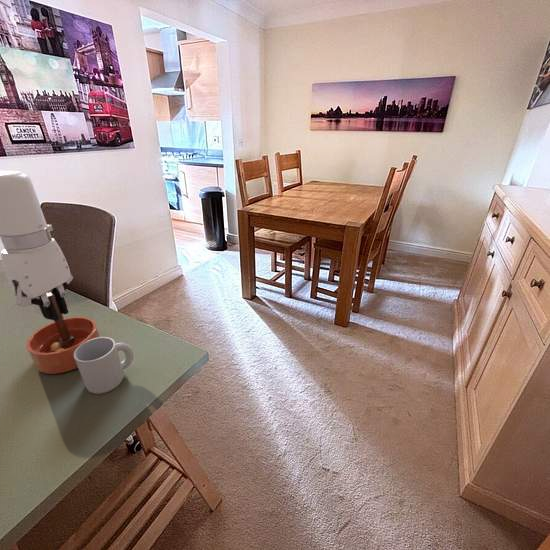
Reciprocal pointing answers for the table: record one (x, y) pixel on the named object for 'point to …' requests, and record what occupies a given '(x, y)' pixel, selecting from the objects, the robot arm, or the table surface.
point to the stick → (61, 323)
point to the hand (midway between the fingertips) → (57, 315)
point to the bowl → (49, 334)
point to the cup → (102, 363)
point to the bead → (55, 346)
